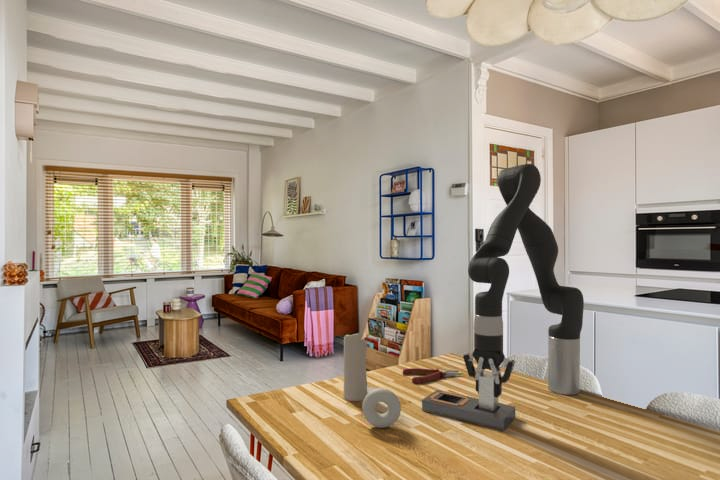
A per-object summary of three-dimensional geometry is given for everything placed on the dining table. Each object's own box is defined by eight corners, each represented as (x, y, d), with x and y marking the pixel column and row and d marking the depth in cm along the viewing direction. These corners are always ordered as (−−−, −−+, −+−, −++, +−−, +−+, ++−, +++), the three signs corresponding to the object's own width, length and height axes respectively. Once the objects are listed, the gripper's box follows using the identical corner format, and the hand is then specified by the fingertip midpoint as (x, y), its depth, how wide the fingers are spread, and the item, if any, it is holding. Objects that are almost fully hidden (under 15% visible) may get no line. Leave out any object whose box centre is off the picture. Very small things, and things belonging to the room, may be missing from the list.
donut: (400, 425, 116) (401, 386, 116) (401, 430, 113) (401, 391, 113) (362, 423, 117) (362, 385, 117) (361, 429, 114) (361, 390, 114)
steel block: (483, 404, 123) (483, 372, 123) (498, 407, 121) (498, 374, 121) (478, 409, 120) (478, 376, 120) (493, 412, 118) (493, 378, 118)
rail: (437, 399, 134) (437, 389, 134) (515, 417, 121) (515, 406, 121) (422, 410, 126) (422, 399, 126) (504, 430, 113) (504, 418, 113)
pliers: (468, 381, 153) (468, 373, 153) (413, 385, 148) (413, 378, 148) (453, 371, 164) (453, 364, 164) (401, 375, 159) (401, 368, 159)
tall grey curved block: (382, 389, 143) (382, 327, 143) (358, 403, 131) (359, 335, 131) (363, 385, 147) (363, 324, 147) (338, 398, 135) (339, 332, 135)
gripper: (519, 332, 119) (519, 396, 120) (468, 325, 127) (468, 385, 128) (511, 337, 113) (511, 405, 113) (458, 330, 121) (458, 393, 121)
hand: (488, 394), depth 121 cm, fingers closed on steel block, 4 cm apart
